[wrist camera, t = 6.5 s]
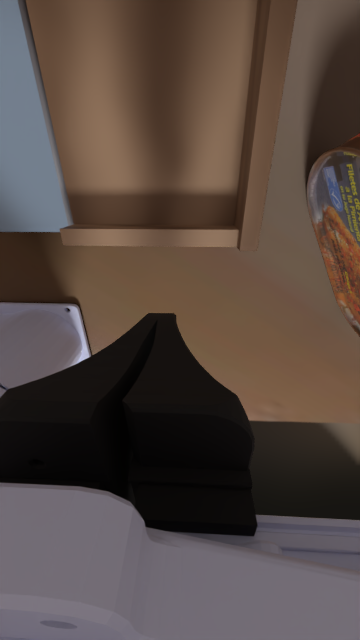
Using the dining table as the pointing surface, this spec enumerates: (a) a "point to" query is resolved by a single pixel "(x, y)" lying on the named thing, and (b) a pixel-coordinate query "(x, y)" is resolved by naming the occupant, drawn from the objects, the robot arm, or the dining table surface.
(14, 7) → the panel
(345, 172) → the tin
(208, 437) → the robot arm
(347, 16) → the dining table surface
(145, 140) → the light wood shallow box
